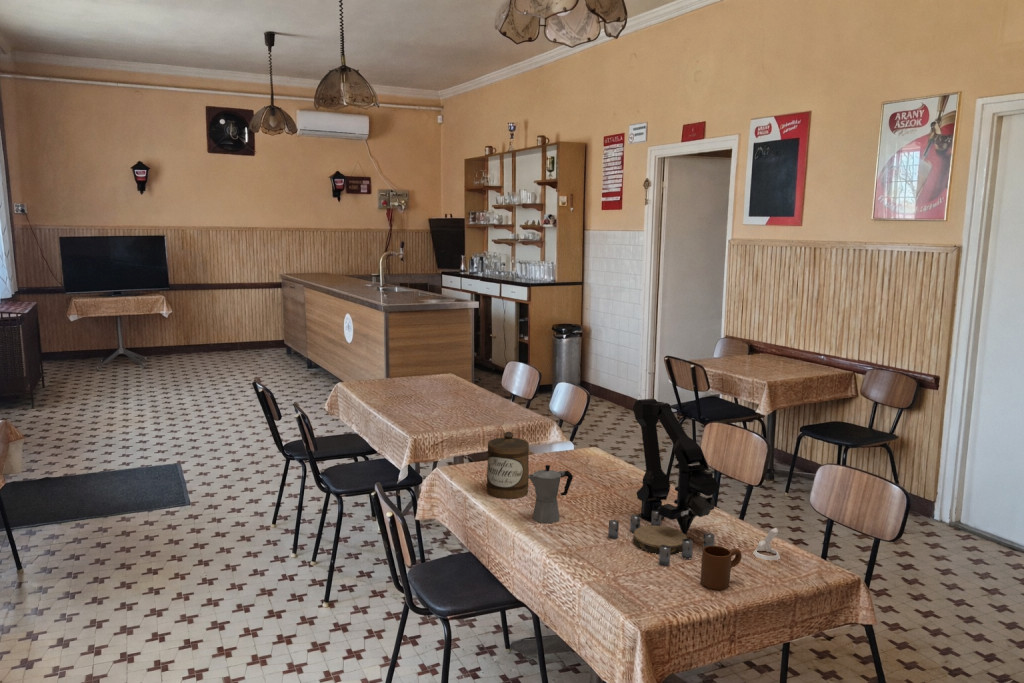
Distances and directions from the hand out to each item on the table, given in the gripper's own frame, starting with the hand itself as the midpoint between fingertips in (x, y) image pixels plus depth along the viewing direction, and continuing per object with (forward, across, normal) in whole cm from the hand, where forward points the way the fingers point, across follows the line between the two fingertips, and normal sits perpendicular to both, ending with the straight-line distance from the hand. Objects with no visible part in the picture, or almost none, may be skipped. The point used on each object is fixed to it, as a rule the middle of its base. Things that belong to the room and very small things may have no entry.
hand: (684, 533), depth 235 cm
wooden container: (+1, -25, +62) cm, 67 cm away
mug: (+1, -15, -27) cm, 31 cm away
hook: (+1, +10, -23) cm, 25 cm away
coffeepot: (+1, -27, +34) cm, 43 cm away
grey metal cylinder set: (+1, -10, 0) cm, 11 cm away
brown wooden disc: (+2, -10, 0) cm, 11 cm away
